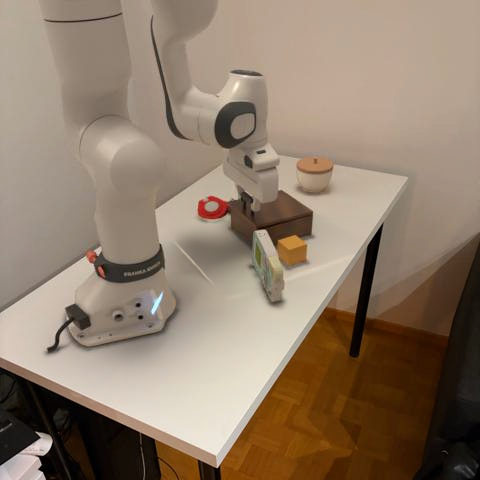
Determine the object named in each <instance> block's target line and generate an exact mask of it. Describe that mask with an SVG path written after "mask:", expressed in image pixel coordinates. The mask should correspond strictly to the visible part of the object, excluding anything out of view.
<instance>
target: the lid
mask: <svg viewBox="0 0 480 480" xmlns="http://www.w3.org/2000/svg"><path fill="white" fill-rule="evenodd" d="M241 198H242V199H243V202H241V201H240V200H239V199H238V198H237V199H235V200H233V201H230V200H228V201H226V202H227V204H228V205H229V206H230V207H231V208H232V209H233V210H235V211H236V212H237V213H238V214H239V215H241V216H242V217H243V218H244V219H246V220H247V221H248V222H249V223H250V224H252V225H253V226H254V227H255V228H260V227H264V226H268V225H272V224H276V223H280V222H284V221H288V220H292V219H296V218H300V217H304V216H308V215H312V214H313V215H314V211H313V210H312V209H311V208H310V207H308V206H306V205H304V204H303V203H302V202H300V201H299V200H297V198H294V197H293V196H292V195H290V194H289V193H288V192H286V191H284V190H283V189H278V196H277V198H276V200H275V201H272V202H269V203H265V204H263V203H261V204H260V211H257V212H254V211H253V210H251V203H253V201H254V199H253V198H252V195H251V194H249V193H248V192H247V191H244V192H242V193H241Z"/></svg>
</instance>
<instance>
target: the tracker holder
mask: <svg viewBox="0 0 480 480" xmlns="http://www.w3.org/2000/svg"><path fill="white" fill-rule="evenodd" d="M233 200H236V199H235V198H234V197H230V199H229V201H233ZM227 202H228V201H226V200H223V199H222V198H219V197H217V196H214V195H209V196H207V197H205V198H202V199H199V200H198V202H197V215H198V216H199V217H200V218H202V219H205V220H218V219H221V218H223V217H224V216H225V215H226V212H227V210H230V206H229V205H228V204H227Z"/></svg>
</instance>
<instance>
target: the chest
mask: <svg viewBox="0 0 480 480" xmlns="http://www.w3.org/2000/svg"><path fill="white" fill-rule="evenodd" d="M229 210H230V226H231V227H232V228H233V229H234V230H235V231H237V233H239V235H241V236H242V237H243V238H244V239H245V240H246V241H247V242H249V243H250V244H251V245H252V246H253V233H254V231H258V230H266V231H267V233H268V235H269V237H270V239H271V241H272V243H273V245H274V247H275V246H276V247H277V246H278V240H281V239H284V238H287V237H290V236H293V235H296V236H297V237H299V238H300V239H302V238H304V237H307V236H310V235H312V233H313V222H314V213H313V214H312V215H308V216H304V217H300V218H296V219H292V220H288V221H284V222H280V223H276V224H272V225H268V226H264V227H260V228H255V227H254V226H253V225H252V224H250V223H249V222H248V221H247V220H246V219H244V218H243V217H242V216H241V215H239V214H238V213H237V212H236V211H235V210H233V209H232V208H231V207H230V209H229Z"/></svg>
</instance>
